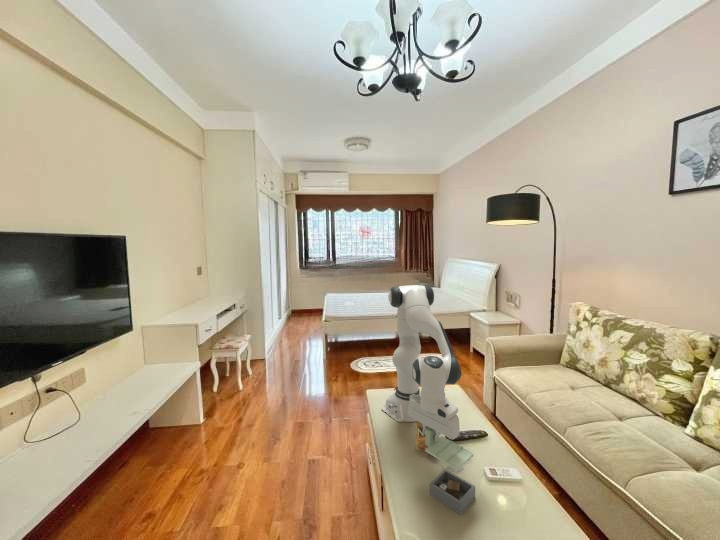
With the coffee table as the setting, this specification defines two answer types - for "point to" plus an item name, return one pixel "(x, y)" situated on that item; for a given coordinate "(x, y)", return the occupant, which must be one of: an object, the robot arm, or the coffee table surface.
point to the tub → (454, 503)
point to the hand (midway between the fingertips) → (431, 437)
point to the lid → (447, 450)
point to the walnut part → (453, 488)
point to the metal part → (443, 486)
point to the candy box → (420, 437)
